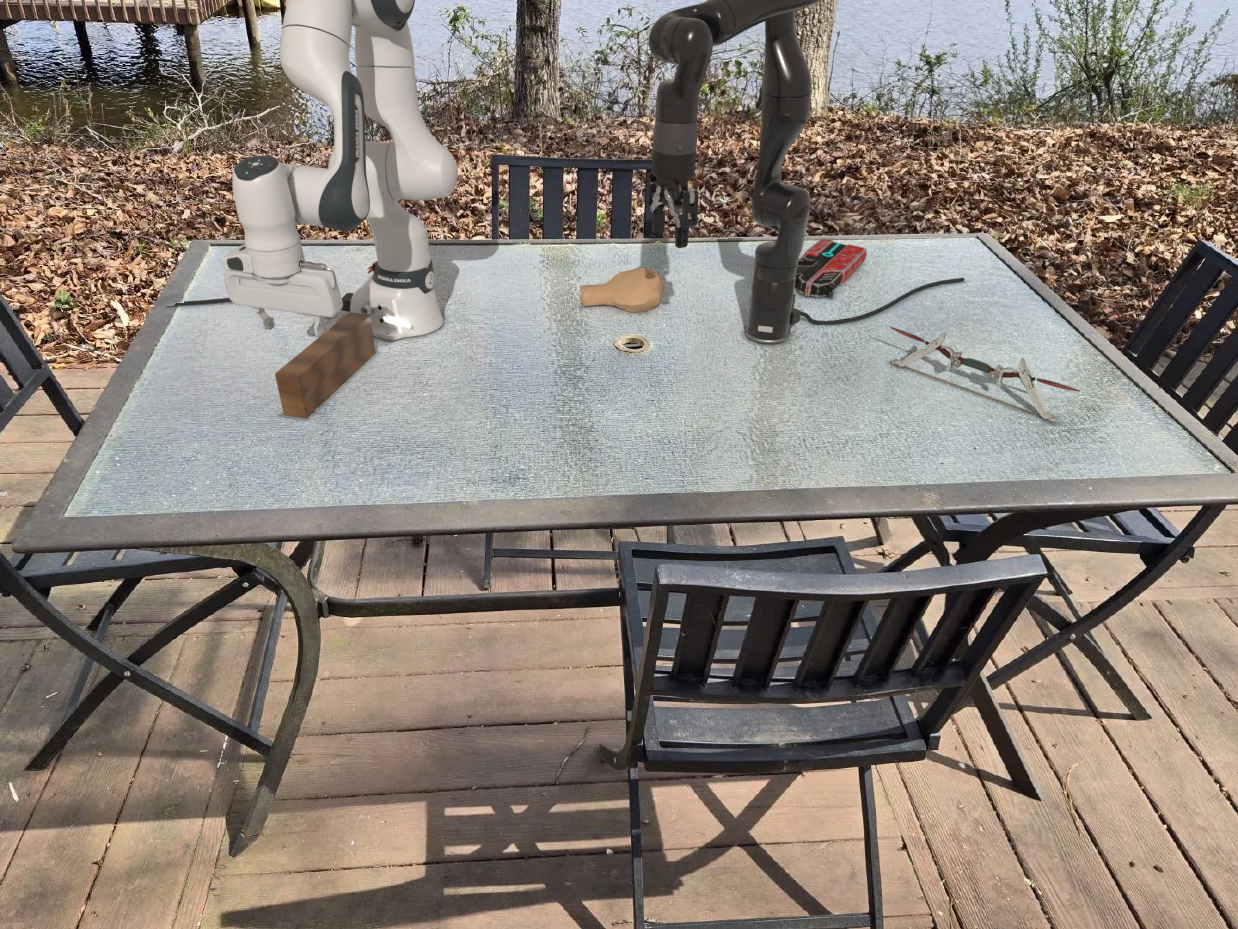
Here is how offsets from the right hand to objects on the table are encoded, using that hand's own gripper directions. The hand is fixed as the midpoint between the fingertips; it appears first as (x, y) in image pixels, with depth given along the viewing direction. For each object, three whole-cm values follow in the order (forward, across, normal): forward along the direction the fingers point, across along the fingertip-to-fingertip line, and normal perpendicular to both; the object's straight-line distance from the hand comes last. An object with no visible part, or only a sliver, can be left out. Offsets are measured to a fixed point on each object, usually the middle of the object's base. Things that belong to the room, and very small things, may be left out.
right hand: (669, 239), depth 158 cm
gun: (+30, +36, -65) cm, 80 cm away
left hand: (+15, +20, +65) cm, 69 cm away
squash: (+30, +37, -10) cm, 49 cm away
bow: (+30, -28, -55) cm, 69 cm away
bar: (+30, +28, +59) cm, 71 cm away
